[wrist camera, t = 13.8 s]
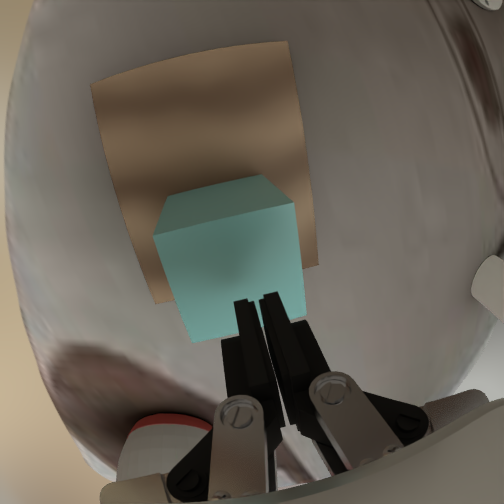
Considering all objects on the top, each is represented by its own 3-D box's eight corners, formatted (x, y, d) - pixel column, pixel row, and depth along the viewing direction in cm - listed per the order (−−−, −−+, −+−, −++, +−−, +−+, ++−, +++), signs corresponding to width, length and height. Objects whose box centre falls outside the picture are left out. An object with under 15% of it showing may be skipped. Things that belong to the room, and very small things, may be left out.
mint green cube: (167, 196, 20) (152, 235, 13) (261, 174, 21) (294, 202, 14) (191, 278, 23) (192, 342, 16) (275, 258, 24) (306, 314, 17)
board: (97, 86, 17) (90, 84, 16) (281, 45, 18) (287, 40, 17) (157, 294, 25) (155, 304, 23) (312, 257, 26) (318, 264, 25)
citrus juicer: (258, 412, 35) (295, 549, 17) (200, 461, 39) (214, 564, 21) (143, 379, 29) (137, 552, 11) (109, 437, 34) (102, 553, 16)
